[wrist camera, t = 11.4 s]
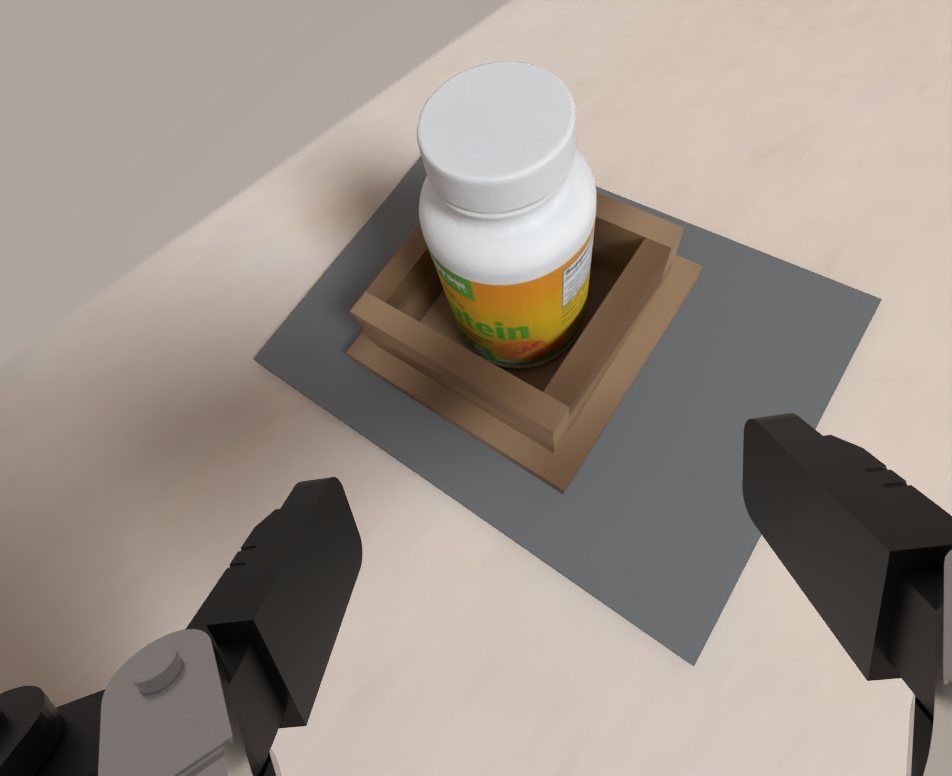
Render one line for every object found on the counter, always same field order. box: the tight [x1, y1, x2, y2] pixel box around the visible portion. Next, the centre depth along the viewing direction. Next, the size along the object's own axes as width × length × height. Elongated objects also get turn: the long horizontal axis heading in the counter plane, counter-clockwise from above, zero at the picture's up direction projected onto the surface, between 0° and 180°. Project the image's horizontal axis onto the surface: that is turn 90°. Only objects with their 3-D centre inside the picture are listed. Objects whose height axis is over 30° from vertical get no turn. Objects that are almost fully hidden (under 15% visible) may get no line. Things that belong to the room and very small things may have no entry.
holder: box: [346, 192, 703, 495], centre depth 20 cm, size 11×11×4 cm
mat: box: [254, 157, 882, 666], centre depth 22 cm, size 22×16×1 cm
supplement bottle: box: [417, 62, 597, 369], centre depth 17 cm, size 5×5×10 cm
